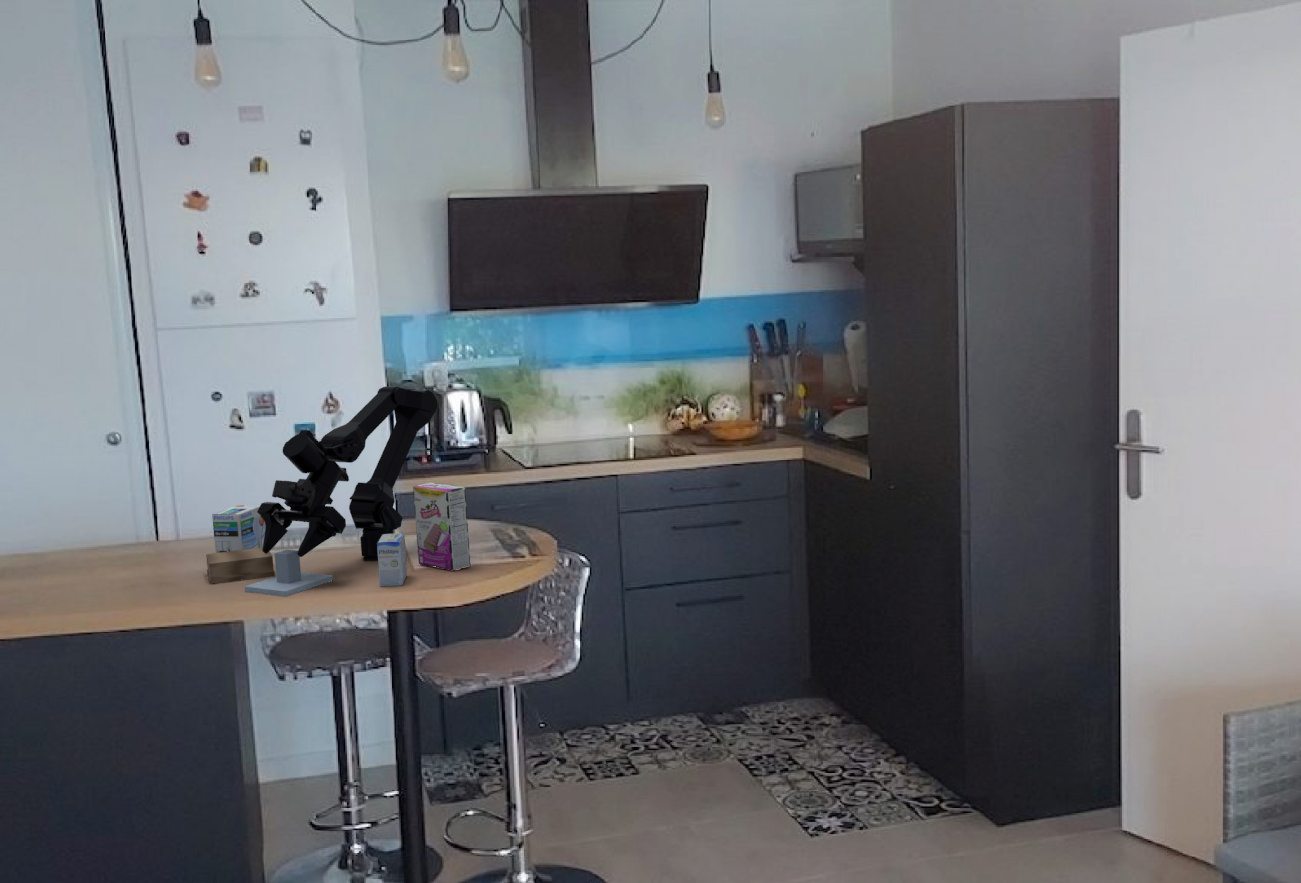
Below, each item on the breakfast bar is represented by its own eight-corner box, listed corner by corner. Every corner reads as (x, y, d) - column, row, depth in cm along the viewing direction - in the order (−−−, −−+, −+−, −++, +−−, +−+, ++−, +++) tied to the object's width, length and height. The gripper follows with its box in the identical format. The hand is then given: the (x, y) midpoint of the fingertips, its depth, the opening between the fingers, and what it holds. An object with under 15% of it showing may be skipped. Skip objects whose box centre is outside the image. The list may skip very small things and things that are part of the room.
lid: (293, 578, 256) (290, 543, 255) (333, 583, 251) (330, 547, 250) (245, 594, 245) (241, 557, 244) (285, 599, 240) (282, 561, 239)
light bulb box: (244, 564, 269) (239, 513, 268) (215, 564, 271) (210, 514, 269) (269, 552, 280) (264, 504, 278) (240, 552, 281) (236, 504, 280)
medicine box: (384, 577, 251) (381, 534, 250) (407, 576, 252) (404, 532, 251) (379, 587, 244) (376, 542, 243) (403, 585, 244) (400, 540, 243)
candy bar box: (417, 565, 260) (411, 485, 258) (436, 560, 264) (431, 481, 262) (452, 572, 253) (446, 490, 251) (471, 567, 257) (466, 486, 254)
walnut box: (269, 565, 267) (268, 546, 266) (274, 575, 257) (273, 556, 257) (207, 573, 262) (205, 554, 262) (210, 584, 253) (208, 564, 252)
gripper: (260, 461, 253) (221, 527, 245) (330, 465, 243) (292, 534, 236) (293, 494, 261) (256, 559, 253) (362, 498, 251) (326, 566, 243)
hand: (281, 554), depth 246 cm, fingers open, 9 cm apart
